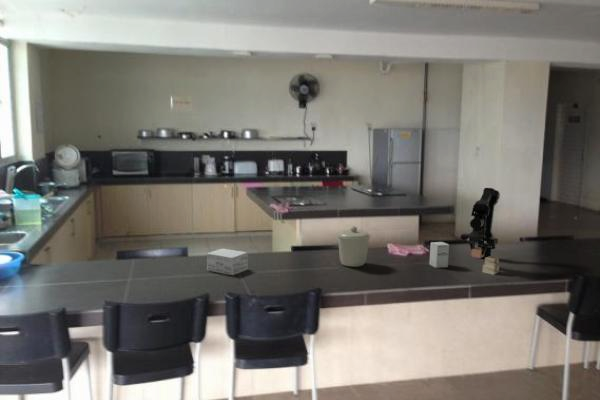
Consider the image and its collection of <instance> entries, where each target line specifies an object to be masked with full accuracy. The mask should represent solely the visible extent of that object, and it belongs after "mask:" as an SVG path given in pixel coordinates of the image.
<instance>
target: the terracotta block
mask: <svg viewBox="0 0 600 400" xmlns="http://www.w3.org/2000/svg"><path fill="white" fill-rule="evenodd" d="M470 253H471V255H470V256H471V257H472V258H478V259H481V257H484V255H482V249H481V248H480V247H475V248H473V249H472V251H471V252H470Z"/></svg>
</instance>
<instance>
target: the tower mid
mask: <svg viewBox="0 0 600 400" xmlns="http://www.w3.org/2000/svg"><path fill="white" fill-rule="evenodd" d="M499 260H500V258H499V257H496V256H492V255H491V256H488V257H486V258H485V259H484V264H485V265H487V266H491V267H495V266H498V265H499Z"/></svg>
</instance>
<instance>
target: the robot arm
mask: <svg viewBox="0 0 600 400" xmlns="http://www.w3.org/2000/svg"><path fill="white" fill-rule="evenodd" d="M500 194H501V193H500V191H499V190H496V189H495V188H493V187H485V188H484V189H483V191H482V195H481V197H480V199H479V200H476V202H475V203H474V204H473V207H472V210H471V213H470V214H471V215H470V216H471V217H473V218H472V219H471V220H470V221H469V226H470V227H471V229H472V231H471V232H470V233H467V232H464V233H462V234H461V235H460V237H459V238H460V240H462V241H463V240H464V241H466V243H468V244H469V247H470V250H471V252H472V249H473V248H476V243H477V248H481V249H482V255H484V257H481V258H480V259H482V260H485V258H486V257H488V256H492V250H496V245H498V242H499V239H498V238H497V237H494V234H493V232H492V228H493V222H494V221H493V220H494V211H495V206H497V204H498V203H499V200H500Z"/></svg>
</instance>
